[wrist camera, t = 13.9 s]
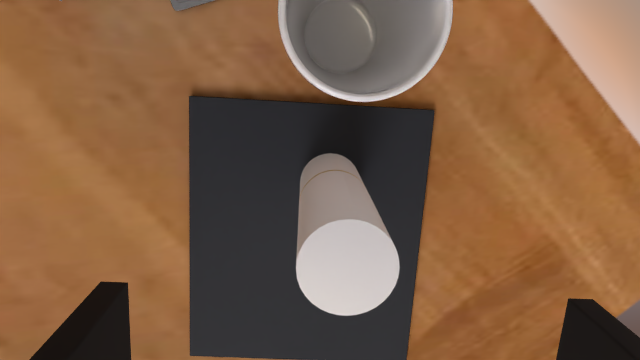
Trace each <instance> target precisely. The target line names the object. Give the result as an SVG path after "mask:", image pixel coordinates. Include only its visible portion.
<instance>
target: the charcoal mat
mask: <svg viewBox="0 0 640 360" xmlns="http://www.w3.org/2000/svg"><path fill="white" fill-rule="evenodd" d="M434 112H435V111H434V110H426V109H409V108H392V107H375V106H358V105H341V104H323V103H306V102H289V101H272V100H255V99H238V98H220V97H203V96H189V163H190V356H212V357H241V358H269V359H297V360H406V358H407V349H408V340H409V332H410V323H411V314H412V305H413V296H414V288H415V279H416V270H417V261H418V253H419V244H420V235H421V226H422V217H423V209H424V200H425V191H426V182H427V173H428V165H429V156H430V147H431V138H432V129H433V121H434ZM328 153H332V154H338V155H342V156H344V157H346V158H347V159H348V160H350V161H351V162H352V163H353V165H354V166H355V167H356V169H357V171H358V173H359V175H360V177H361V179H362V181H363V183H364V185H365V187H366V189H367V191H368V193H369V195H370V197H371V199H372V201H373V203H374V205H375V207H376V209H377V211H378V213H379V215H380V217H381V219H382V221H383V223H384V225H385V227H386V229H387V231H388V233H389V236H390V238H391V240H392V242H393V244H394V246H395V248H396V250H397V253H398V257H399V267H400V269H399V276H398V279H397V282H396V285H395V287H394V289H393V290H392V292H391V294H390V295H389V296H388V297H387V298H386V299H385V301H384V302H382V303H381V304H380V305H378V306H377V307H376V308H374V309H372V310H370V311H368V312H365V313H361V314H358V315H350V316H343V315H335V314H331V313H328V312H326V311H324V310H321V309H319V308H318V307H317V306H315V305H314V304H312V303H311V302H310V301H309V300H308V299H307V297H306V296H305V295H304V293H303V292H302V290H301V288H300V286H299V283H298V280H297V274H296V257H297V237H298V217H299V196H300V179H301V174H302V171H303V170H304V168H305V166H306V165H307V164H308V162H310V161H311V160H312V159H313V158H315V157H317V156H319V155H322V154H328Z"/></svg>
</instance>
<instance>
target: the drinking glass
mask: <svg viewBox="0 0 640 360" xmlns="http://www.w3.org/2000/svg"><path fill="white" fill-rule="evenodd" d="M452 16H453V0H279V1H278V22H279V29H280V35H281V39H282V43H283V45H284V48H285V51H286V53H287V55H288V57H289V59H290V61H291V62H292V64H293V66H294V67H295V68H296V70H297V71H298V72H299V73H300V74H301V76H302V77H303V78H304V79H305V80H307V81H308V82H309V83H310V84H311V85H313V86H314V87H315V88H317V89H319V90H320V91H322V92H324V93H326V94H328V95H331V96H333V97H336V98H340V99H344V100H348V101H355V102H372V101H379V100H383V99H387V98H390V97H393V96H396V95H398V94H400V93H402V92H404V91H406V90H408V89H409V88H411V87H412V86H414V85H415V84H416V83H418V82H419V81H420V80H421V79H422V78H423V77H424V76H425V75H426V74H427V73H428V72H429V71H430V70H431V69H432V67H433V66H434V65H435V63H436V62H437V60H438V59H439V57H440V55H441V53H442V51H443V49H444V47H445V45H446V42H447V40H448V36H449V33H450V29H451V24H452Z"/></svg>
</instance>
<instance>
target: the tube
mask: <svg viewBox="0 0 640 360" xmlns="http://www.w3.org/2000/svg"><path fill="white" fill-rule="evenodd" d="M399 269H400V267H399V257H398V253H397V250H396V248H395V246H394V244H393V242H392V240H391V238H390V236H389V233H388V231H387V229H386V227H385V225H384V223H383V221H382V219H381V217H380V215H379V213H378V211H377V209H376V207H375V205H374V203H373V201H372V199H371V197H370V195H369V193H368V191H367V189H366V187H365V185H364V183H363V181H362V179H361V177H360V175H359V173H358V171H357V169H356V167H355V166H354V165H353V163H352V162H351V161H350V160H348V159H347V158H346V157H344V156H342V155H338V154H332V153H328V154H322V155H319V156H317V157H315V158H313V159H312V160H311V161H310V162H308V164H307V165H306V166H305V168H304V170H303V171H302V174H301V179H300V196H299V217H298V237H297V257H296V274H297V280H298V283H299V286H300V288H301V290H302V292H303V293H304V295H305V296H306V297H307V299H308V300H309V301H310V302H311V303H312V304H314V305H315V306H317V307H318V308H319V309H321V310H324V311H326V312H328V313H331V314H335V315H343V316H350V315H358V314H361V313H365V312H368V311H370V310H372V309H374V308H376V307H377V306H378V305H380V304H381V303H382V302H384V301H385V299H386V298H387V297H388V296H389V295H390V294H391V292H392V290H393V289H394V287H395V285H396V282H397V279H398V276H399Z"/></svg>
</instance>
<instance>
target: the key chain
mask: <svg viewBox="0 0 640 360" xmlns="http://www.w3.org/2000/svg"><path fill="white" fill-rule="evenodd" d="M60 1H62V0H60ZM211 1H214V0H171V3H172V6H173V8H174V9H175V10H176V11H180V10H184V9H187V8H190V7H194V6H197V5H201V4H204V3H207V2H211Z"/></svg>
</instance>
